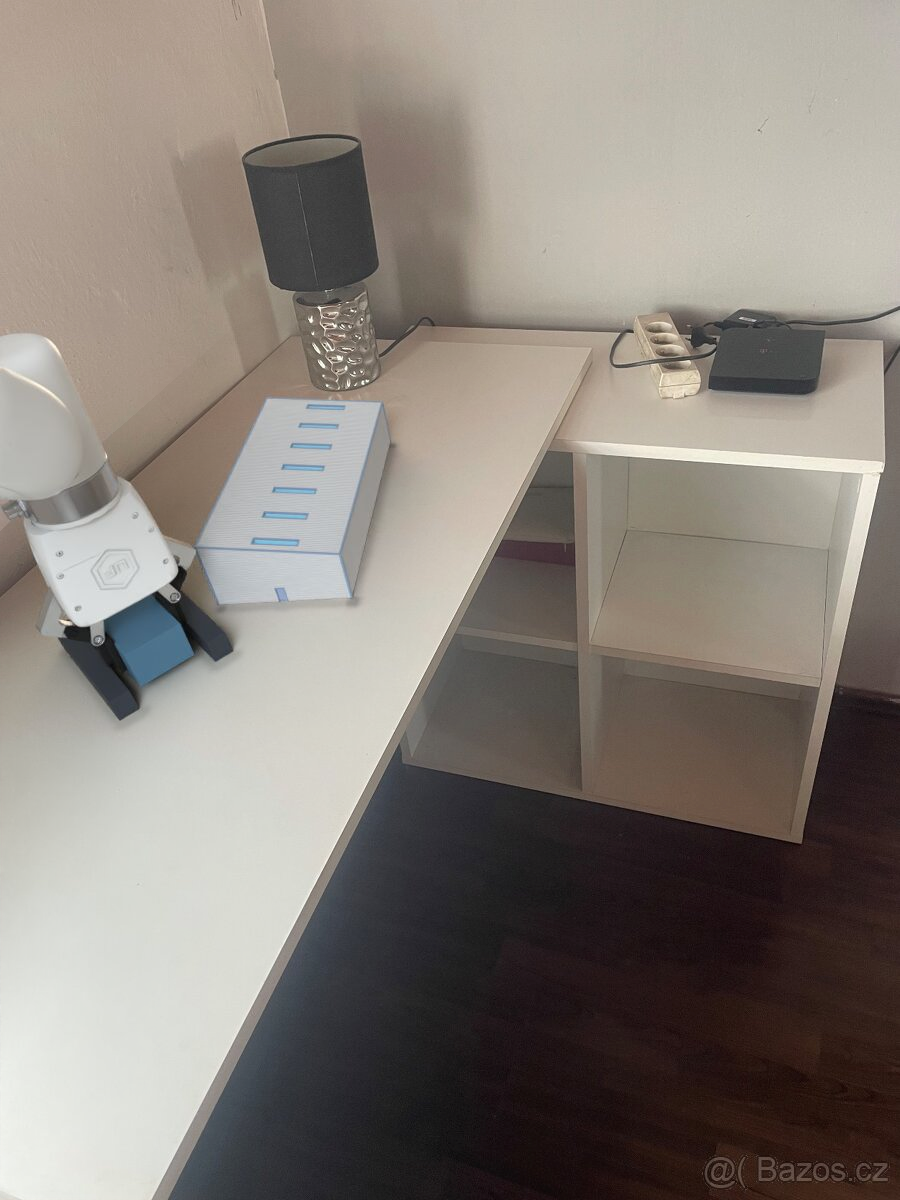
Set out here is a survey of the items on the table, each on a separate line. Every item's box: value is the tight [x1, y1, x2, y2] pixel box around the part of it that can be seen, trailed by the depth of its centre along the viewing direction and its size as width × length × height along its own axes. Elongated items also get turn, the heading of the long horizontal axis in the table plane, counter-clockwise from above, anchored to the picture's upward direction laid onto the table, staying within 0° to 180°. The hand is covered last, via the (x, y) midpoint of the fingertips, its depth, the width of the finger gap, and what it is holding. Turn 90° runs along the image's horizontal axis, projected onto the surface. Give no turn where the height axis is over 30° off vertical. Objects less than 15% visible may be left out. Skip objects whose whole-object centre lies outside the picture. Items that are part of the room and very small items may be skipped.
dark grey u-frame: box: [56, 589, 234, 721], centre depth 85 cm, size 12×14×2 cm
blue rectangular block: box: [104, 595, 195, 687], centre depth 81 cm, size 6×8×4 cm
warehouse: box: [193, 396, 392, 606], centre depth 97 cm, size 30×14×8 cm, turn 175°
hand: (148, 646), depth 82 cm, fingers closed on blue rectangular block, 5 cm apart
